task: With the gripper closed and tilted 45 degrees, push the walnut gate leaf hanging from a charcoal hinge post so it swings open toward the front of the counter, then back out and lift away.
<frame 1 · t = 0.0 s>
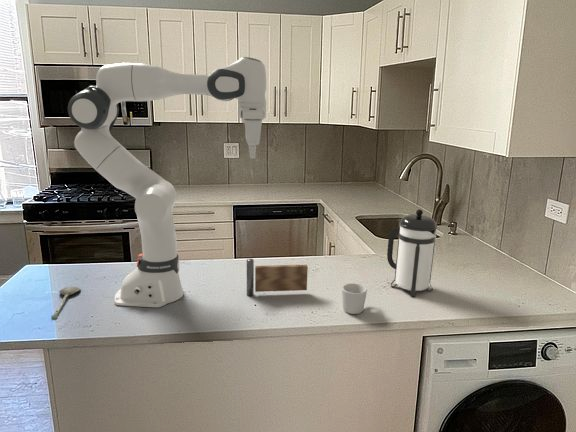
hand: (252, 156, 141), 48 cm above the worktop, tool pointing down, fingers open, 8 cm apart
gate post: (250, 294, 152), on the worktop
gate: (281, 278, 151), point 6 cm above the worktop, hinge at 0.0°
cup: (355, 309, 143), on the worktop
soupspoon: (64, 304, 144), on the worktop
coffee press: (407, 288, 161), on the worktop
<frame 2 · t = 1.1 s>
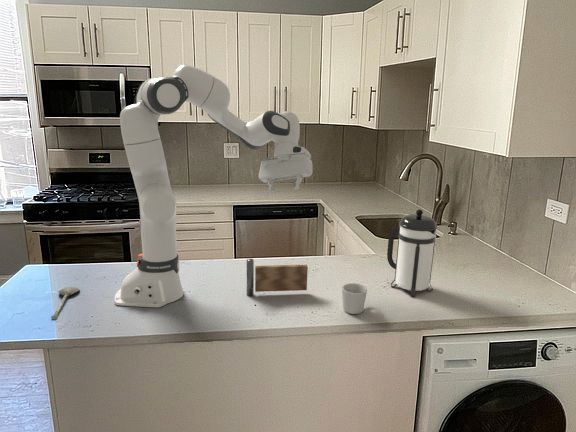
hand: (283, 190, 154), 35 cm above the worktop, tool tilted 35°, fingers open, 8 cm apart
nothing on the worktop moved.
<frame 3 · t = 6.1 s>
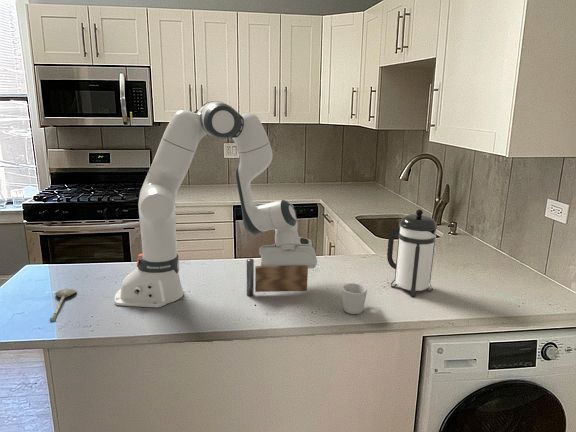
hand: (290, 280, 153), 5 cm above the worktop, tool tilted 45°, fingers closed, pressing on gate
gate: (281, 278, 151), point 6 cm above the worktop, hinge at 2.0°, touching gripper
soupspoon: (61, 306, 142), on the worktop
everything else where it was.
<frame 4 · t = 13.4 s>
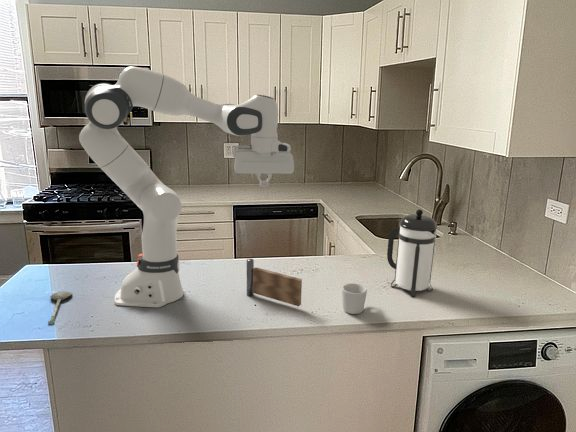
hand: (264, 186, 149), 37 cm above the worktop, tool pointing down, fingers closed
gate: (276, 286, 145), point 6 cm above the worktop, hinge at 37.6°
soupspoon: (57, 309, 140), on the worktop
everything else where it was.
at the end: gate at +38° (first picture: +0°); gate touching nothing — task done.
